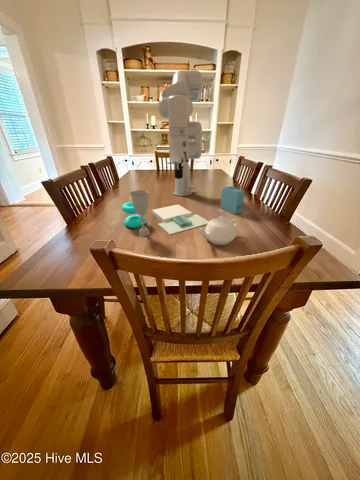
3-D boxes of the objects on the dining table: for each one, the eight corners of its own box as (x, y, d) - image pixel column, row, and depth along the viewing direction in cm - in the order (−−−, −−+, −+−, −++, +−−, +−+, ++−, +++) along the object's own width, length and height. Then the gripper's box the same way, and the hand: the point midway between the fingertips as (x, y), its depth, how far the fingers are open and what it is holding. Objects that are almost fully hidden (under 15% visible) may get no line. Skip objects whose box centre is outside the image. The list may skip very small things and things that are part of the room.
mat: (196, 214, 104) (196, 214, 103) (210, 223, 95) (210, 222, 94) (158, 224, 94) (157, 223, 94) (169, 234, 85) (169, 233, 85)
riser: (178, 207, 113) (178, 204, 112) (191, 216, 102) (191, 212, 101) (152, 213, 106) (151, 209, 105) (163, 223, 95) (163, 219, 94)
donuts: (120, 208, 85) (122, 201, 93) (124, 229, 90) (125, 220, 98) (144, 207, 86) (143, 199, 95) (146, 227, 91) (145, 219, 100)
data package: (241, 213, 105) (245, 191, 99) (235, 215, 103) (238, 192, 97) (226, 206, 114) (228, 185, 108) (220, 208, 112) (222, 186, 106)
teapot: (209, 254, 72) (211, 229, 67) (189, 240, 81) (189, 217, 76) (247, 239, 81) (251, 216, 76) (225, 227, 90) (227, 206, 85)
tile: (182, 217, 99) (182, 215, 99) (191, 224, 93) (191, 221, 92) (171, 220, 97) (171, 217, 96) (180, 227, 90) (180, 224, 89)
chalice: (138, 238, 82) (132, 196, 73) (133, 232, 88) (127, 191, 79) (154, 234, 85) (151, 193, 76) (149, 228, 91) (145, 189, 82)
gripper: (196, 133, 78) (194, 180, 87) (177, 131, 89) (177, 173, 98) (179, 133, 74) (180, 183, 84) (161, 132, 85) (164, 176, 95)
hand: (178, 178), depth 91 cm, fingers closed
